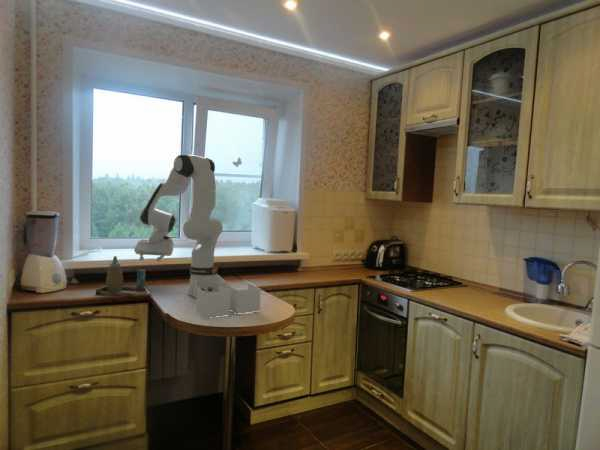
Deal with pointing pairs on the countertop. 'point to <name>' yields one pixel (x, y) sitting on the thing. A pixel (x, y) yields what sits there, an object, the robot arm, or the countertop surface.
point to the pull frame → (139, 287)
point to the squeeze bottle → (114, 277)
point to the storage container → (228, 301)
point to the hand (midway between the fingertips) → (149, 260)
